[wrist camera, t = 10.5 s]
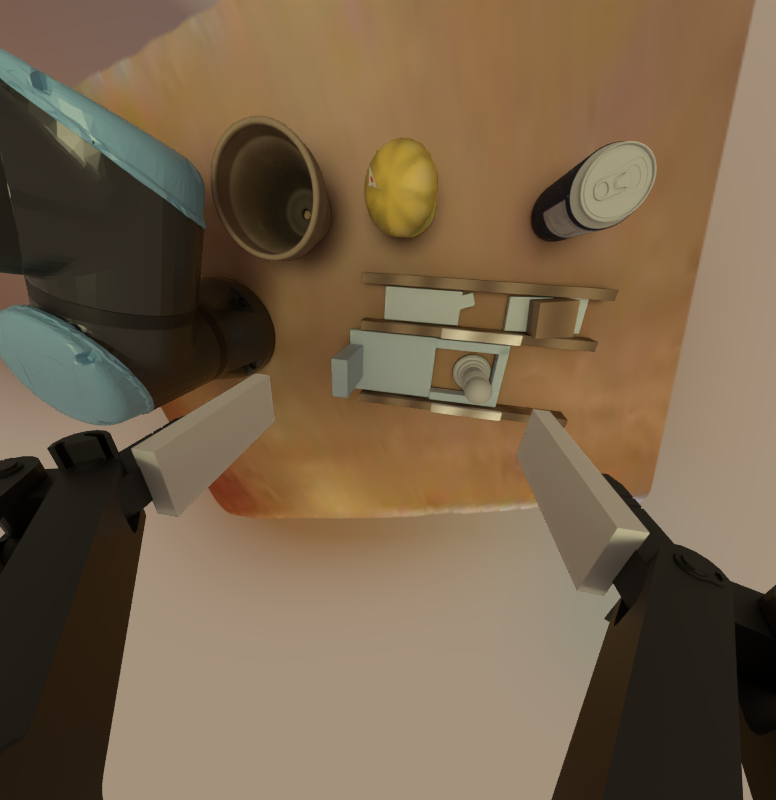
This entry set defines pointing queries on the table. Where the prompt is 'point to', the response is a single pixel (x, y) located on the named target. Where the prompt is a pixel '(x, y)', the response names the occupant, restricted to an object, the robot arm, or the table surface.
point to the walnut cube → (552, 317)
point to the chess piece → (473, 378)
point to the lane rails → (475, 338)
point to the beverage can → (596, 192)
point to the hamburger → (401, 188)
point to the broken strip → (456, 307)
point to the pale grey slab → (405, 365)
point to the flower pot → (269, 189)
